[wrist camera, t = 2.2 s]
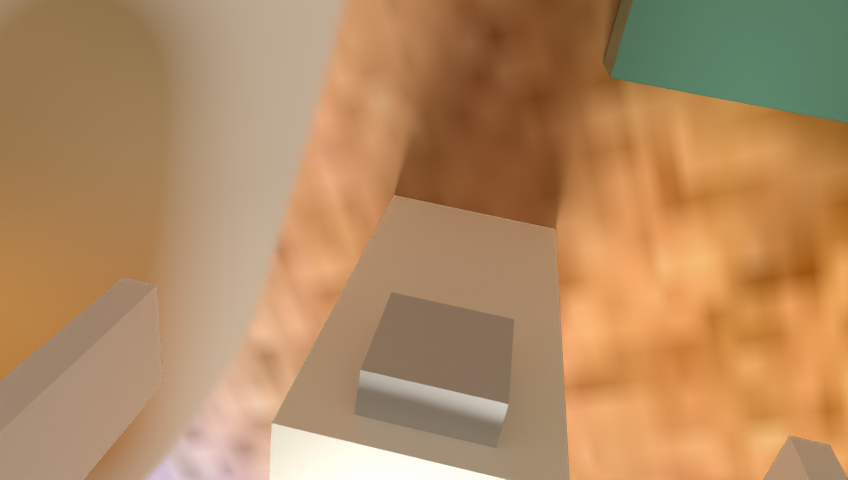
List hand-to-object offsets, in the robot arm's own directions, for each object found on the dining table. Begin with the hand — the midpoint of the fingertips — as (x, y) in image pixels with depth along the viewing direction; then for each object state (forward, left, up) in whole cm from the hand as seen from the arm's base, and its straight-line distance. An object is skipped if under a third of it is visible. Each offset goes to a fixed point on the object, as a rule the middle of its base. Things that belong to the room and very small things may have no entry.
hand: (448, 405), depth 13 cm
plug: (0, 0, -4) cm, 4 cm away
